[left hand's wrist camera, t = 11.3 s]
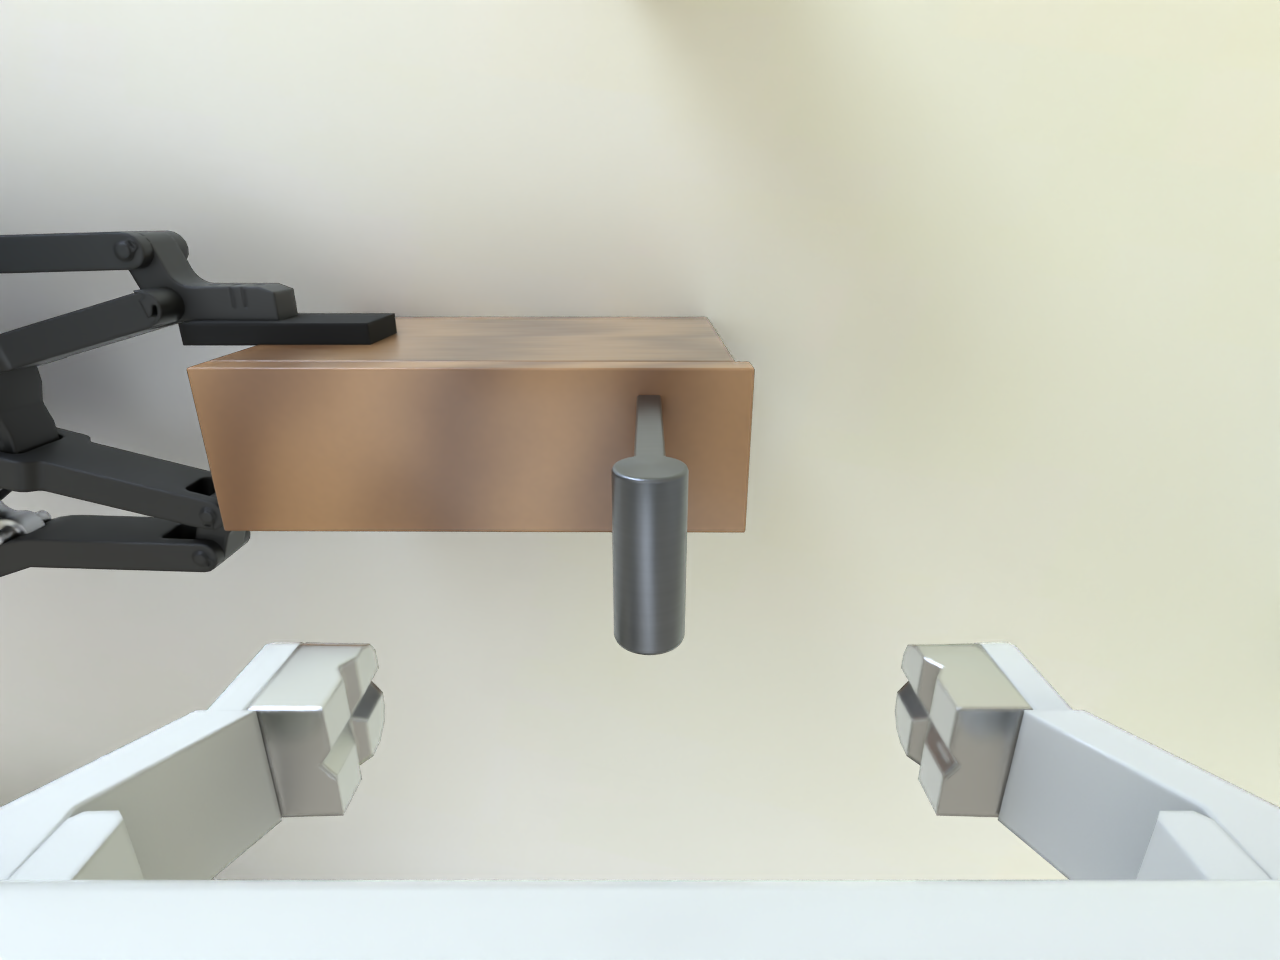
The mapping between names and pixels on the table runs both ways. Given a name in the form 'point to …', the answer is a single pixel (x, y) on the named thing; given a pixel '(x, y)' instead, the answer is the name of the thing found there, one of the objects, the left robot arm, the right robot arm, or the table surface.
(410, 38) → the table surface
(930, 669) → the left robot arm
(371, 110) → the table surface
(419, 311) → the table surface
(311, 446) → the lid
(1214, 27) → the table surface
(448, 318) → the chest
